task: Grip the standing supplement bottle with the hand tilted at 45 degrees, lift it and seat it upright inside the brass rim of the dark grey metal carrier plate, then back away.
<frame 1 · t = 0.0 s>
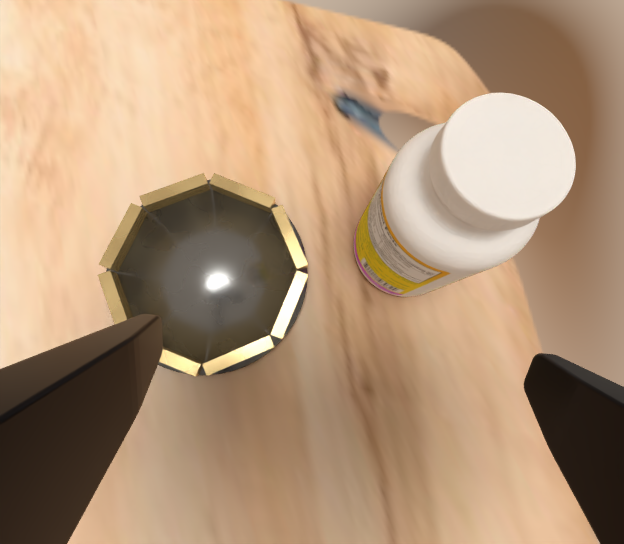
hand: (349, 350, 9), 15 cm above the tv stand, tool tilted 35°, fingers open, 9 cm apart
supplement bottle: (399, 249, 26), on the tv stand
carrier plate: (211, 275, 24), on the tv stand
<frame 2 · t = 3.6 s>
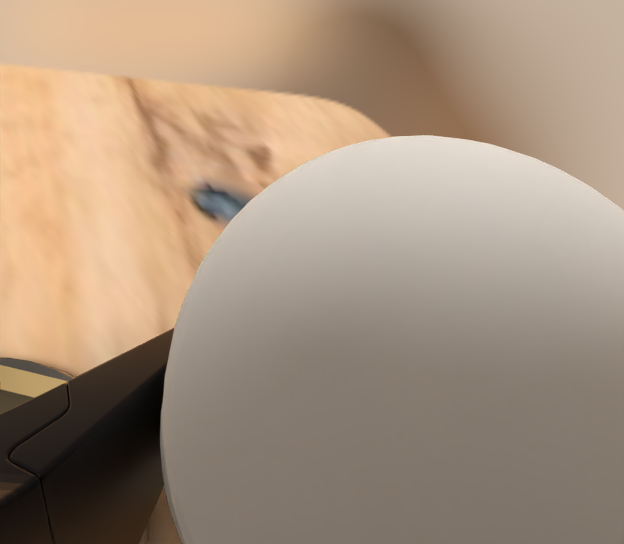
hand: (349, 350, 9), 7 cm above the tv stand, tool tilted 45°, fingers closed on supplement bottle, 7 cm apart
supplement bottle: (318, 421, 15), on the tv stand, touching gripper
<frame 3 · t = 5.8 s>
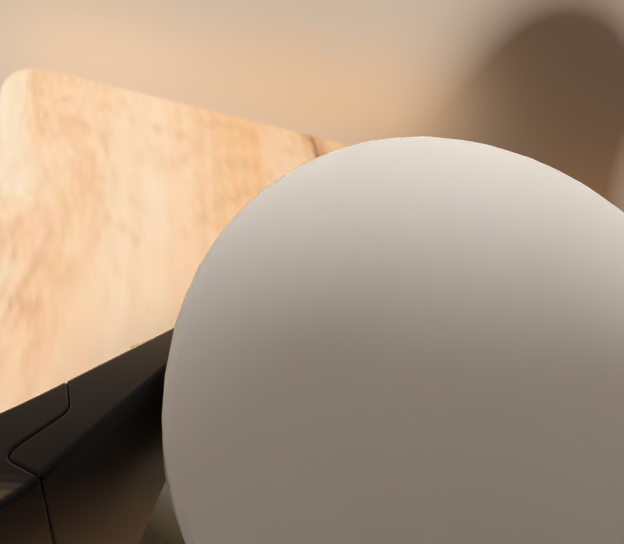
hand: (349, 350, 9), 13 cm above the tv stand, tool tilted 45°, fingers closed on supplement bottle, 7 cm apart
supplement bottle: (320, 420, 15), point 6 cm above the tv stand, touching gripper
carrier plate: (207, 441, 20), on the tv stand
when the fingers open (9 cm above the tv stand, at t = 8.3 s): supplement bottle stays where it is, resting on carrier plate.
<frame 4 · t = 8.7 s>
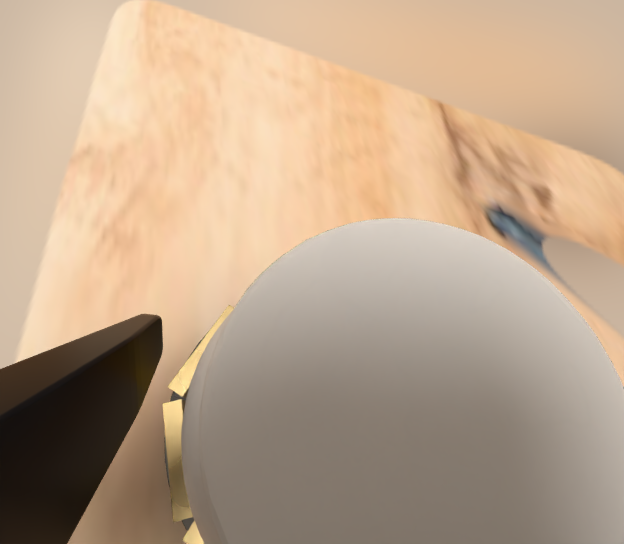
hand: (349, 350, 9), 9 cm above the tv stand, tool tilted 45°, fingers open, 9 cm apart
supplement bottle: (317, 427, 16), point 1 cm above the tv stand, touching carrier plate
carrier plate: (313, 422, 17), on the tv stand
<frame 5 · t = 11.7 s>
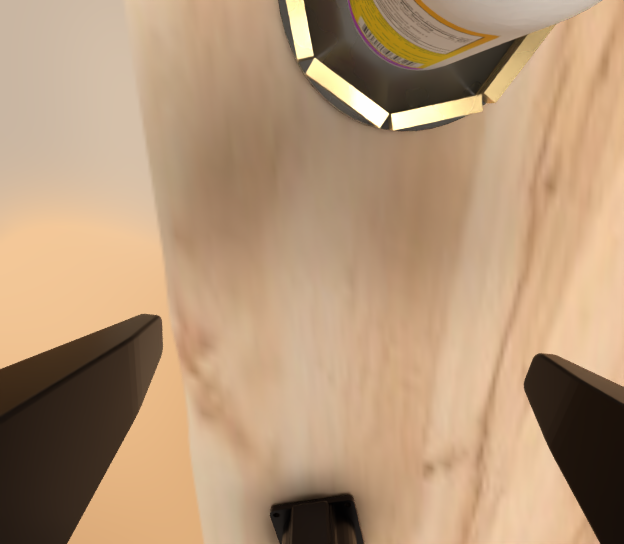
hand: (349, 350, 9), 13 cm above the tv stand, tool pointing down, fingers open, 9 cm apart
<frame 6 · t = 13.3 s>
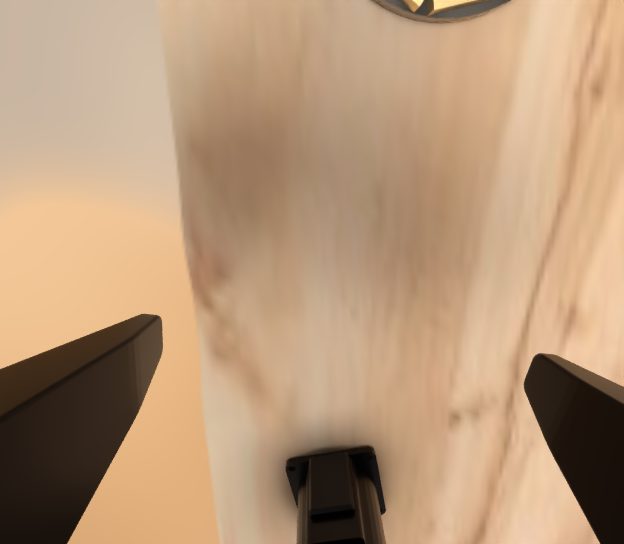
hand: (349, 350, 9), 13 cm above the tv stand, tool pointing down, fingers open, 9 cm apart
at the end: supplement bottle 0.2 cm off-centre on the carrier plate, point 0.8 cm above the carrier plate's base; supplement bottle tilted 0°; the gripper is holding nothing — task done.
